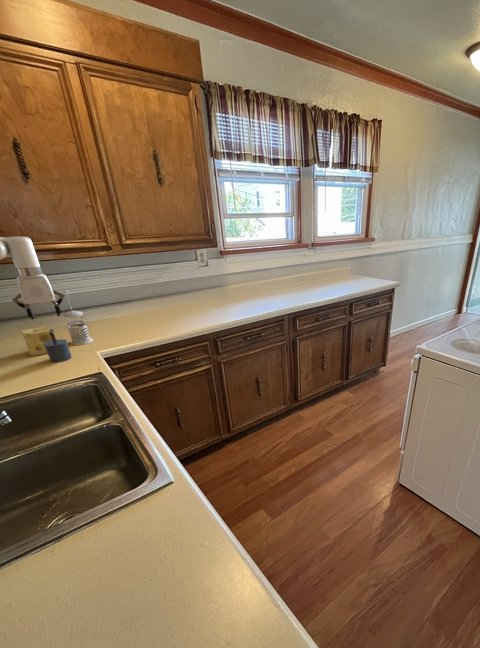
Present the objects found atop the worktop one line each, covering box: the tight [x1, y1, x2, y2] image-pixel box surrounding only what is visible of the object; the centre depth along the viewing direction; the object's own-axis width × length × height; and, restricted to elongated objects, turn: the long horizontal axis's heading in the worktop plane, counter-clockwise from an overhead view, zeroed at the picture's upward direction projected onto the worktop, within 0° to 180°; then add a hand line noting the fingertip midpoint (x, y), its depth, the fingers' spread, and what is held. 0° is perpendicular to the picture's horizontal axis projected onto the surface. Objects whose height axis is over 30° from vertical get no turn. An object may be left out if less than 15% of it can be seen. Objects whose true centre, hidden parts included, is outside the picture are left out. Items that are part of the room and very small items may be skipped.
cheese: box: [21, 326, 52, 358], centre depth 148 cm, size 10×11×10 cm
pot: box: [45, 342, 73, 363], centre depth 139 cm, size 8×8×8 cm
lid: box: [43, 328, 68, 347], centre depth 136 cm, size 8×8×6 cm
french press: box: [62, 289, 94, 346], centre depth 156 cm, size 10×12×25 cm
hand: (46, 316), depth 132 cm, fingers open, 8 cm apart
